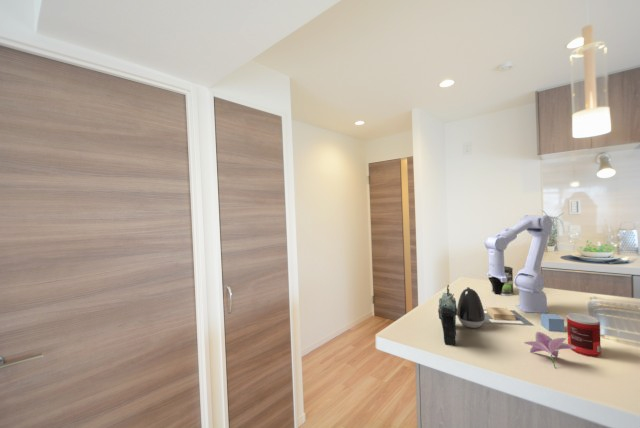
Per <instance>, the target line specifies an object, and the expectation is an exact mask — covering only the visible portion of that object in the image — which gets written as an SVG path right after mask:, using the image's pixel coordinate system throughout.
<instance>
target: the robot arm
mask: <svg viewBox="0 0 640 428" xmlns="http://www.w3.org/2000/svg"><path fill="white" fill-rule="evenodd" d="M553 224H554V222H553V221H552V218H551V217H550V216H549V215H545V214H544V215H524V216H523V217H520V221H518V222H517V223H516V224H515V225H512V226H511V227H510V228H508V227H507V228H503V229H502V231H500V232H499V233H496V234H495V235H494V236H489V237H488V238H486V239H485V242H484V246H485V247H484V248H486V252H487V254H488V269H487V272H486V275H487V276H489V277H488V280H489V282H490V283H491V284H492V287H493V291H494V293H493V294H494V295H499V296H502V295H501V292H502V288H503V286H504V284H505V282H507V278H506V276H505V271H504V266H505V253H504V252H505V250H506V249H507V247H508V245H509V244H510V243H511V242H513V241H515V240H516V239H517V238H518V235H519V234H521V233H522V232H524V231H527V233H529V234H530V235H531V236H532V239H531V243H530V246H529V250H528V253H527V257H526V260H525V265H524V267H523V268H521V269H519V270H518V271H517V274H516V275H515V276H514V277H513V284H514V285H515V286H516V288H517V290H518V294H519V295H518V296H519V298H518V299H519V300H518V301H519V304H516V305H515V307H516V308H518V309H519V310H520V311H522V312H523V313H537V314H538V313H539V314H549V311H548V301H547V300H548V299H547V294H546V293H545V292H544V291H543V290H544V288H545V283H544V282H545V281H544V280H545V277H544V275H542V273H540V268H541V265H542V261H543V258H544V254H545V251H546V246H547V244H548V239H549V235H550V234H551V232H552V227H553ZM491 276H492V277H491ZM491 284H490V285H491Z"/></svg>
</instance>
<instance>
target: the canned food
mask: <svg viewBox="0 0 640 428" xmlns="http://www.w3.org/2000/svg"><path fill="white" fill-rule="evenodd" d="M600 323H601V322H600V320H599V319H598V318H597V317H595V316H592V315H588V314H584V313H583V314H582V313H579V312H578V313H575V312H573V313H568V314H567V315H566V325H567V326H566V327H567V329H566V330H567V331H566V332H567V344H569V345H572V346H574V347H576V348H575V349H570V350H571V351H573V352H574V353H576V354H579V355H582V356H587V357H592V358H593V357H595V358H597V357H599V356H600V355H601V352H602V350H601V349H602V348H601V347H602V346H601V324H600Z"/></svg>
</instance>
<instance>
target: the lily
mask: <svg viewBox="0 0 640 428" xmlns="http://www.w3.org/2000/svg"><path fill="white" fill-rule="evenodd" d="M566 339H567V338H566V337H558V338H553V339H552V338H551V337H550V336H549V335H547V334H545V333H543V332H541V331H536V332H535V340H532V341H525V342H523V343H524V344H525V345H528V346H531V347H530V349H529V353H537V352H546V353H548V354H549V355H550V357H551V360H552V364H553V367H554V369H556V368H557V367H556V364H555V361H554V357H555V358H558V356H559V350H567V349H568V350H571V349H575V348H576V347H574V346H572V345H569V344H568V343H565V341H566ZM553 356H554V357H553Z"/></svg>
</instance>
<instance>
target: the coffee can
mask: <svg viewBox="0 0 640 428" xmlns="http://www.w3.org/2000/svg"><path fill="white" fill-rule="evenodd" d="M513 270H514V269H513V267H511V266H508V265H507V266H506V265H504V271H505V276H506V278H507V282H505V284H504V286H503V288H502V292H501V295H500V296H514V277H513V275H514V274H513ZM490 277H492V276H490ZM490 287H491V288H490V289H491V291H490V292H491V293H493V294H495V293H494V291H493V287H492V284H490Z"/></svg>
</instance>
